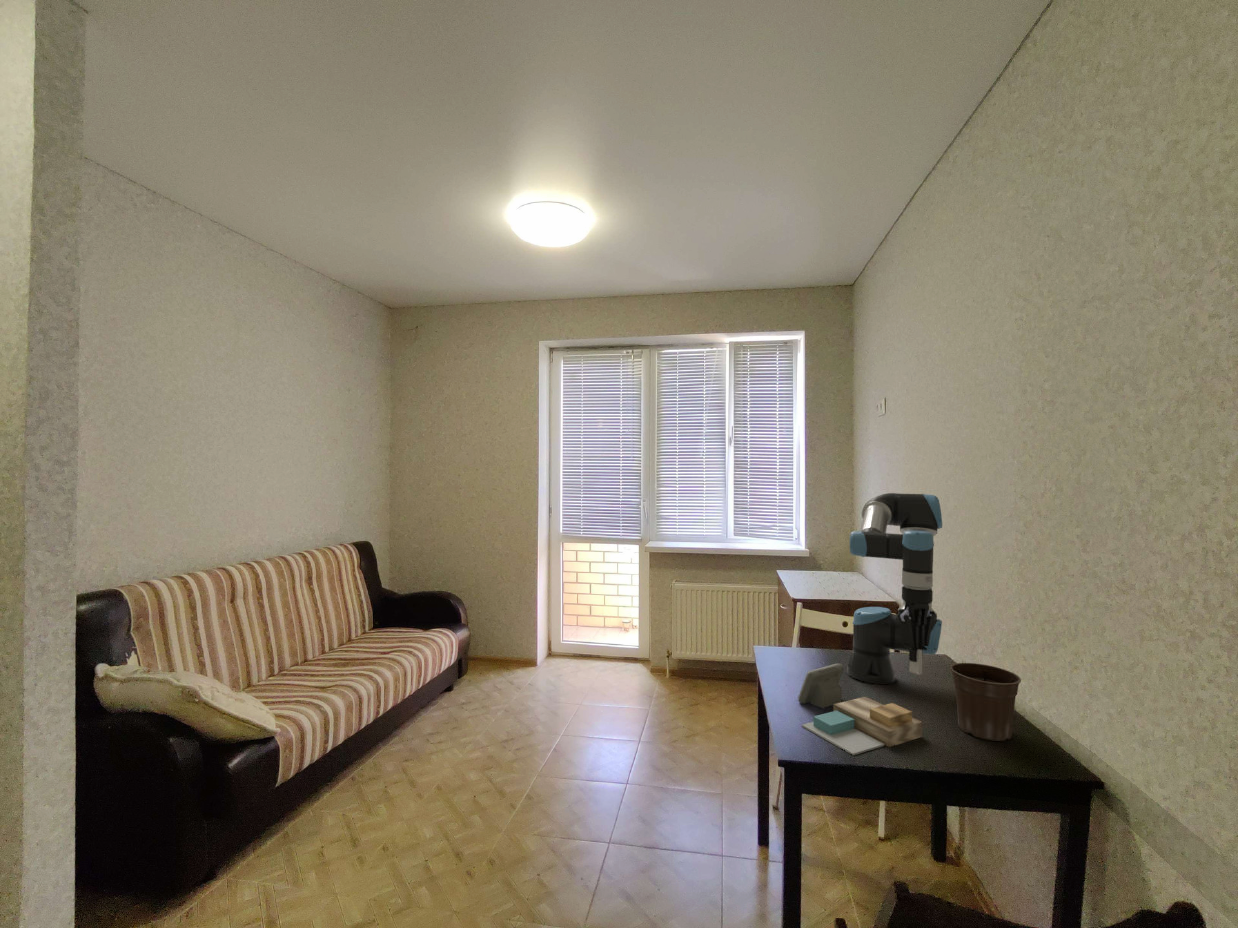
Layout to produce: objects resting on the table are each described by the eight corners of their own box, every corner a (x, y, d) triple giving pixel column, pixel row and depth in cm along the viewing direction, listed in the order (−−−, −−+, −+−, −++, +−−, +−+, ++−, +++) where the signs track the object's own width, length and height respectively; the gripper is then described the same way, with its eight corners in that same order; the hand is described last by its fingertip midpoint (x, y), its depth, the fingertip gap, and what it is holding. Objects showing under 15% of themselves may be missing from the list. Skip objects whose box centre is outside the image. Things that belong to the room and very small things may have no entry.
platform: (864, 710, 165) (864, 696, 165) (921, 736, 149) (922, 721, 149) (833, 718, 159) (833, 704, 159) (889, 747, 143) (889, 731, 143)
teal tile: (836, 719, 158) (836, 710, 158) (854, 728, 152) (854, 719, 152) (813, 725, 154) (813, 716, 154) (830, 734, 148) (830, 725, 148)
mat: (831, 718, 159) (831, 716, 159) (884, 745, 144) (884, 743, 144) (801, 726, 154) (801, 724, 154) (853, 755, 139) (853, 753, 139)
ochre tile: (892, 711, 155) (892, 702, 155) (912, 720, 150) (912, 711, 150) (869, 717, 151) (869, 708, 151) (889, 727, 146) (889, 717, 146)
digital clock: (831, 692, 178) (832, 658, 179) (853, 703, 170) (854, 668, 170) (790, 698, 173) (791, 664, 173) (810, 710, 164) (811, 674, 164)
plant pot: (939, 715, 163) (940, 659, 163) (1001, 720, 160) (1002, 664, 160) (964, 742, 147) (965, 680, 147) (1032, 748, 144) (1033, 686, 144)
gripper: (914, 591, 149) (912, 680, 148) (945, 588, 155) (943, 673, 154) (889, 586, 155) (887, 671, 155) (919, 582, 161) (918, 665, 161)
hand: (915, 672), depth 155 cm, fingers closed
